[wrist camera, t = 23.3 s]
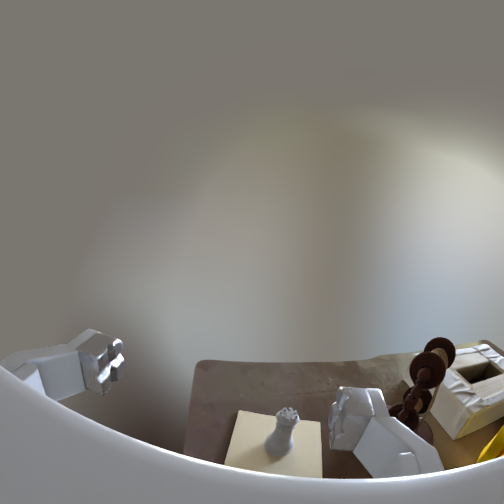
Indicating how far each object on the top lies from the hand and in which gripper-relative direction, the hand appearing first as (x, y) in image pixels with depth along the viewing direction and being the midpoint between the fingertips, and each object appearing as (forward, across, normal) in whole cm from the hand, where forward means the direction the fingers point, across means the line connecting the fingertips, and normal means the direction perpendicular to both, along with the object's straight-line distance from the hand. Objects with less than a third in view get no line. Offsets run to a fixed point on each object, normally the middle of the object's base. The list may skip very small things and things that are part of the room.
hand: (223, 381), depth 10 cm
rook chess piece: (+22, -6, +30) cm, 38 cm away
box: (+39, -52, +30) cm, 71 cm away
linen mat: (+22, -6, +30) cm, 38 cm away
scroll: (+25, -26, +30) cm, 47 cm away
